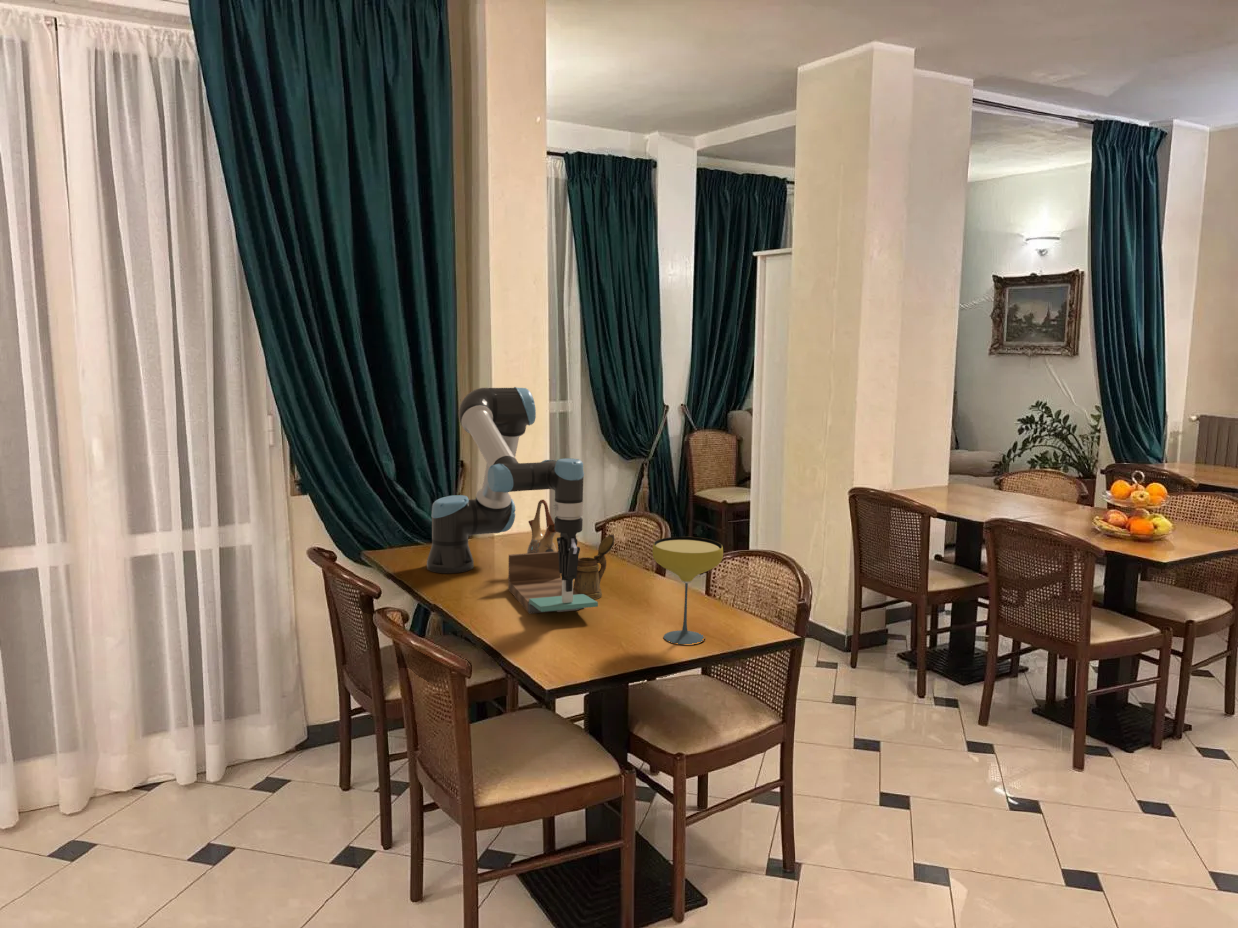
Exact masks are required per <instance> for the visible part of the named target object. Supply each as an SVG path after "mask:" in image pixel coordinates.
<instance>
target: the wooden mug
mask: <svg viewBox="0 0 1238 928" xmlns="http://www.w3.org/2000/svg"><path fill="white" fill-rule="evenodd" d="M615 540H616V539H615V535H614V533H613V534H610V535H607V536H606V537H604V538H603V539H602V541H601V542H600V544H599V545H598V553H597V555H594V557H585V556H583V557H578V566H577V575H576V579H574V580H573V589H574V590H575V591H576V592H577V593H578V594H584V595H586V596H588V597H590V598H591V599H593V600H595V601H596V600H598V599H600V598H602V596H603V595H602V588H601V580H602V578H603V576H604V574H605V571H606V567H607V559H606V556H605V555H607V554H608V553H609V552H610V551H611V550H612V548H613V547H614V544H615ZM599 564H600V565H599Z"/></svg>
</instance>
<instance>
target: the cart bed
mask: <svg viewBox="0 0 1238 928" xmlns="http://www.w3.org/2000/svg"><path fill="white" fill-rule="evenodd" d="M508 591H509V592H510V594H511V593H512V594H513V595H514V596H515V597H514V596H513V595H512V594H511V595H512V596H513V597H514V598H515V599H516V600H517V602H520V605H521V606H522V607H523V609H525V611H526V612H528V614H529V615H531V614H539V613H540V614H541V613H551V612H557V611H556V610H555V611H544V612H541V611H539V610H538V609H537V608H535V607H534V606H533V605H531V604H530V603H529V599H532V598H543V597H555V596H562V576H561V574H560V573H559V556H558V550H557V551H555V552H540V553H527V552H526V553H514V554H508ZM573 595H578V593H577V592H576V591H575V590H574V589H573ZM584 609H585V608H579V610H584Z"/></svg>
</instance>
